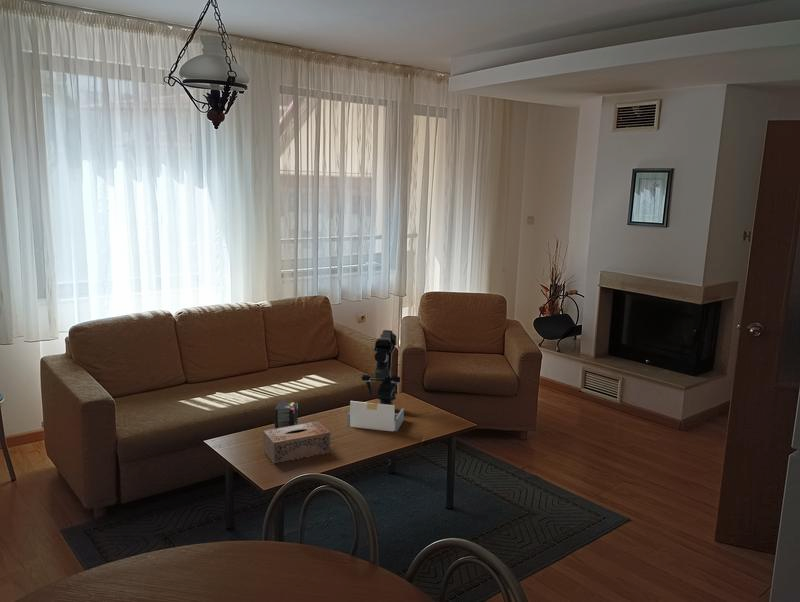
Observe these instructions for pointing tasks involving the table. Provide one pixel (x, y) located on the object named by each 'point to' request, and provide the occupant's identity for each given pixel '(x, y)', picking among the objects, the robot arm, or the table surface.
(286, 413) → the tampon box
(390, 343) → the robot arm
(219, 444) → the table surface
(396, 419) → the carton
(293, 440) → the tissue box cover
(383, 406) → the flap
